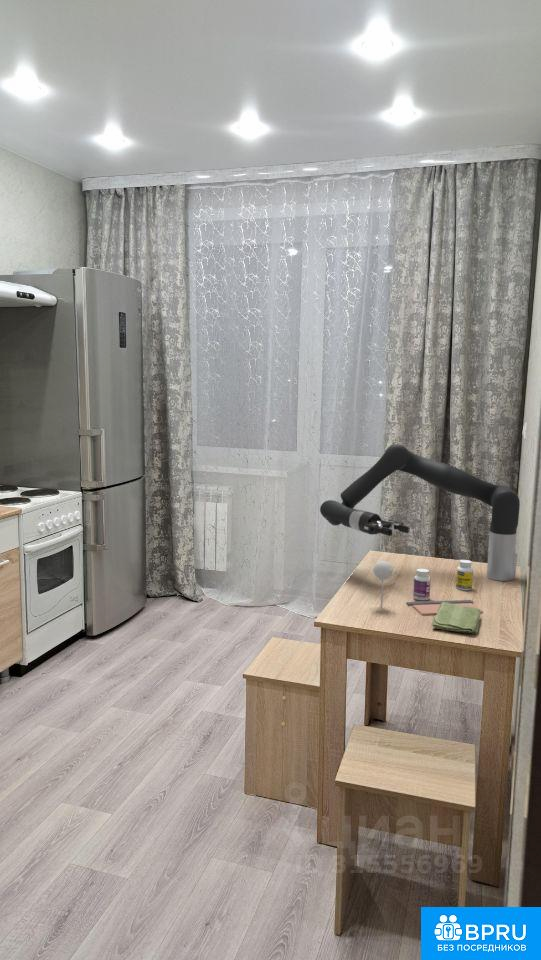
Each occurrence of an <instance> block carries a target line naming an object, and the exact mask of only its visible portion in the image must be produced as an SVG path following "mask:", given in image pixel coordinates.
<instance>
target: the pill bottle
mask: <svg viewBox="0 0 541 960" xmlns="http://www.w3.org/2000/svg"><path fill="white" fill-rule="evenodd" d="M429 574H430V570H429V569H426V568H418V569H416V575H415V576H414V577H413V592H412V593H413V596H412V597H413V599H415V600H417V601H422V602H425V601H428V600H430V597H431V596H430V595H431V577H430V576H429Z"/></svg>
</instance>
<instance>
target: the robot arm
mask: <svg viewBox="0 0 541 960" xmlns="http://www.w3.org/2000/svg"><path fill="white" fill-rule="evenodd" d="M396 471H400V472H404V473H407V474H410V475H413V476H416V477H418V478H419V479H422V480H423V481H425V482H427V483H429V484H430V485H432V486H435V487H437V488H439V489H442V490H444V491H446V492H447V493H448V492H449V493H452V494H455V495H457V496H462V497H466V498H467V497H468V498H472V499H475V500H478V501H481V503H484V504H486V505H488V506H489V507H491V510H492V511H491V520H490V524H489V536H488V537H489V539H488V549H487V550H488V551H487V565H486V566H487V568H486V578H488V579H490V580H494V581H500V582H501V581H502V582H508V581H512V580H516V576H517V575H516V574H517V562H518V561H517V560H518V554H517V553H516V541H517V531H518V530H517V529H518V526H519V518H520V517H519V516H520V508H521V507H520V504H521V503H520V498H519V495H518V493H516V492H515V491H514V490H513V489H511V488H509V487H506V486H502V485H498V484H494V483H491V482H488V481H485V480H484V479H481V478H479V477H477V476H475V475H473V474H471V473H469V472H467V471H465V470H463V469H460V468H458V467H456V466H453V465H451V464H447V463H444V462H441V461H437V460H434V459H429V458H425V457H422V456H420V455H418V454H416V453H415V452H411V451H410V450H409V449H408V448H407V447H405V446H404V445H403V444H399V443H397V444H395V443H394V444H391V445H390V446H388V447H387V448H386V449H385V451H384V452H383V454H382V456H380V458H379V460H378V461H377V462H376V463H374V465H373V466H372V467H371V468H369V469H368V470H367V471H366V472H365V473H363V474H362V475H361V476H360V477H358V478H356V479H355V480H354V481H353V482H352V483H351V484H350V485H349V486H347V487H346V488H345V489H344V490H343V491H342V492H341V494H340V498H341V500H342V502H338V501H336V500H331V499H329V500H326V501H324V502H323V503H321V505H320V506H319V507H320V508H319V512H320V514H321V516H322V517H323V518H324V519H325V520H326V521H327V522H328V523H329V524H330V525H332V526H335V527H336V526H339V525H343V526H344V527H347V528H350V529H353V530H356V531H358V532H362V533H365V534H368V535H372V536H374V535H378V534H379V535H385V536H388V537H391V536H393V533H394V531H397V532H402V533H403V534H404V533H405V534H409V532H410V527H409V526H407V525H404V522H401V521H397V520H393V519H389V520H387V519H382V518H381V516H380V515H379V514H378V513H374V512H371V511H367V510H363V509H356V508H355V506H356V505H357V504H359V503H360V502H361V501H362V500H363V499H365V498H366V497H367V496H368V495H369V494H370V493H371V492H373V490H374V489H375V488H376V487H377V486H378V485H379V484H380V483H382V481H384V480H385V479H386V478H387V477H389V476H391V475H392V474H393V473H395V472H396Z"/></svg>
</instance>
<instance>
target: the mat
mask: <svg viewBox="0 0 541 960" xmlns="http://www.w3.org/2000/svg"><path fill="white" fill-rule="evenodd" d="M442 602H446V603H451V604H455V605H459V606H467V607H473V608H478V609H480V607H478V606H477V605H475V604H474V601H473V600H471V599H463V600H462V599H461V600H459V599H458V600H435V601H434V600H432V601H431V600H430V601H428V600H425V601H406V605H407V606H408V607H412V608H413V609H414V610H415V611H417V613H419V614H420V615H421V616H436V615H437V612H438V610H439V607H440V605H441V603H442ZM483 613H484V611H483V610H482V609H480V614H483Z"/></svg>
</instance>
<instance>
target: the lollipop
mask: <svg viewBox="0 0 541 960" xmlns="http://www.w3.org/2000/svg"><path fill="white" fill-rule="evenodd" d="M372 570H373V574H374V576H375V577H376V578H378V579H379V580H381V591H380V592H381V594H380V595H381V596H380V607H381V608H383V600H384V599H383V596H384V595H383V594H384V580H387V579H389V578H391V576H392V575H393V571H394V568H393V566H392V564H391V563H390V562H388V561H386V560H379V561H378V562H376V563H375V565H374V566H373V569H372Z"/></svg>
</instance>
